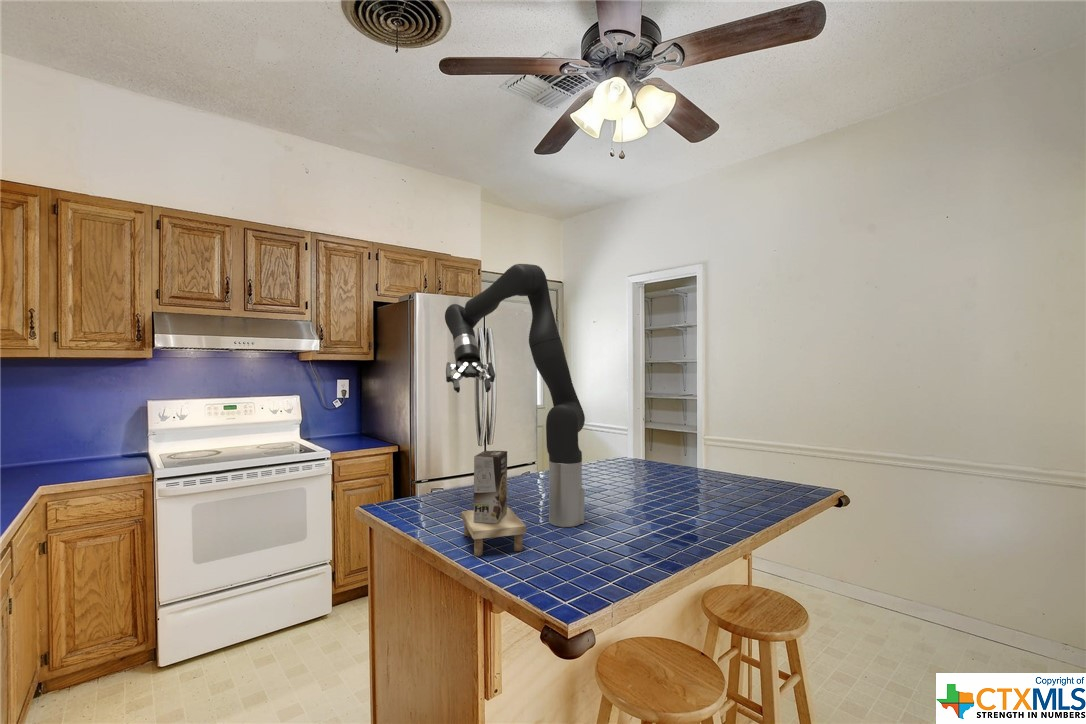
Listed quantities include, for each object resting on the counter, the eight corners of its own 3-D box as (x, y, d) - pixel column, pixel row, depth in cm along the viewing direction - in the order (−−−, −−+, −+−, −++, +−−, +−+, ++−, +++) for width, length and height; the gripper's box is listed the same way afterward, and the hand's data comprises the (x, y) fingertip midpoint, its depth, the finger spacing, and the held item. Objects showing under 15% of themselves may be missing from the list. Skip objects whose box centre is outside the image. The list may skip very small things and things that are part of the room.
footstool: (508, 529, 134) (508, 507, 134) (526, 551, 118) (526, 526, 119) (461, 534, 130) (461, 511, 130) (473, 557, 115) (473, 531, 115)
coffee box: (498, 524, 120) (498, 456, 120) (472, 522, 121) (473, 455, 121) (508, 513, 129) (508, 450, 129) (483, 511, 130) (484, 449, 130)
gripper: (444, 342, 151) (449, 381, 140) (491, 343, 155) (499, 381, 144) (442, 360, 156) (447, 399, 145) (487, 360, 160) (495, 398, 149)
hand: (473, 390), depth 144 cm, fingers open, 8 cm apart
